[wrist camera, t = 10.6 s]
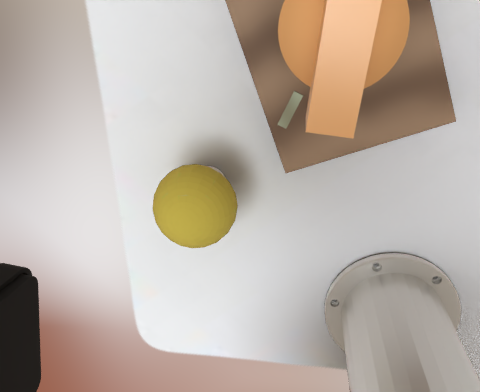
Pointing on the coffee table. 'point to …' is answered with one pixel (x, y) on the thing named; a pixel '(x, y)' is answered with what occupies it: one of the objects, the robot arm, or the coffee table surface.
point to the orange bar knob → (340, 54)
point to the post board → (373, 98)
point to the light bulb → (195, 205)
